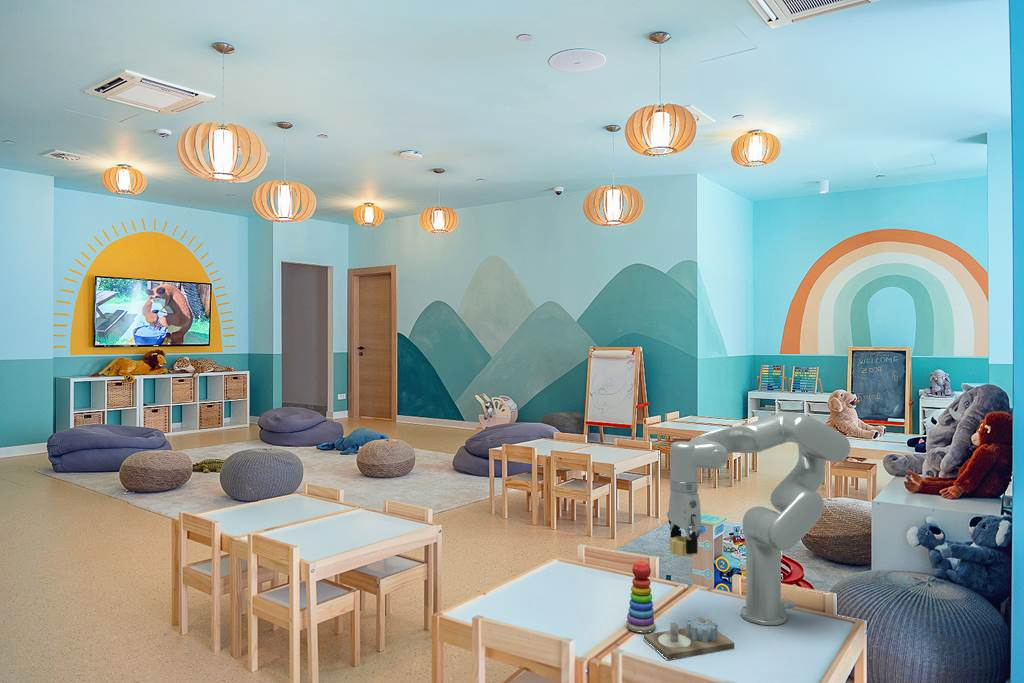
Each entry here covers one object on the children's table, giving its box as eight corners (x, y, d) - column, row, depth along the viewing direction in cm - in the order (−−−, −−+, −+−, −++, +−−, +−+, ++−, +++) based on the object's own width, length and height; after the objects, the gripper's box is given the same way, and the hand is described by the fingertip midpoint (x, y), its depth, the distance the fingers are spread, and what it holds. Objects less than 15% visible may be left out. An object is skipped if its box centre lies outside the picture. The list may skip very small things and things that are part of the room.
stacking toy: (655, 635, 190) (655, 567, 190) (625, 633, 192) (625, 565, 191) (655, 623, 198) (655, 557, 198) (627, 621, 200) (626, 556, 199)
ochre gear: (688, 546, 200) (688, 534, 200) (703, 555, 193) (703, 542, 193) (665, 549, 198) (665, 537, 198) (679, 557, 191) (679, 545, 191)
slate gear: (698, 627, 191) (698, 613, 191) (722, 636, 186) (722, 622, 185) (681, 635, 186) (681, 621, 186) (706, 645, 181) (706, 630, 181)
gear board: (707, 629, 193) (707, 608, 193) (734, 648, 182) (734, 625, 182) (643, 640, 187) (643, 618, 187) (667, 660, 176) (666, 636, 176)
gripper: (713, 492, 188) (712, 557, 188) (679, 479, 205) (679, 538, 205) (688, 494, 186) (688, 560, 186) (656, 480, 202) (656, 541, 203)
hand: (683, 548), depth 195 cm, fingers closed on ochre gear, 7 cm apart
